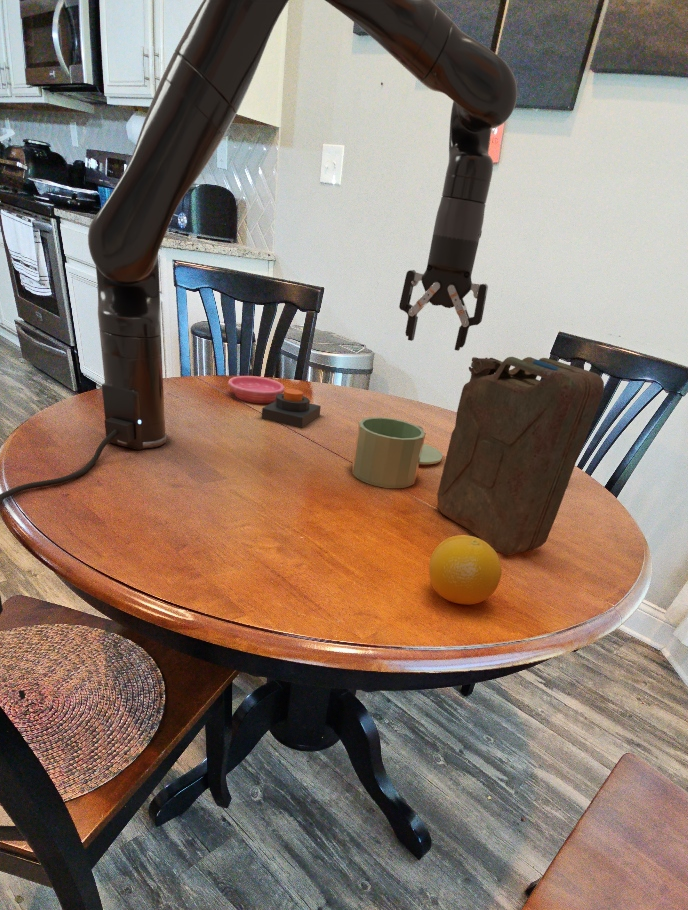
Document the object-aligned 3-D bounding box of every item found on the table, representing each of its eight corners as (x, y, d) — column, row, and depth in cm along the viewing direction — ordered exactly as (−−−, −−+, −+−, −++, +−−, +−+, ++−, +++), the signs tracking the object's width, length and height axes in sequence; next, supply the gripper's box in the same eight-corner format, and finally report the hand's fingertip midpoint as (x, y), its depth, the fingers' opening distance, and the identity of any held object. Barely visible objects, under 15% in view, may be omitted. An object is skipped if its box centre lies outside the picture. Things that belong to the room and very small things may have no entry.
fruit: (477, 581, 78) (494, 527, 74) (500, 616, 72) (520, 559, 67) (415, 579, 77) (428, 523, 72) (432, 614, 70) (448, 556, 66)
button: (298, 404, 121) (298, 395, 120) (280, 399, 122) (280, 391, 121) (305, 400, 125) (305, 391, 124) (287, 396, 125) (288, 387, 124)
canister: (547, 553, 88) (615, 378, 74) (508, 562, 84) (571, 378, 69) (465, 502, 100) (510, 342, 86) (428, 507, 96) (467, 340, 82)
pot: (406, 493, 100) (417, 444, 95) (343, 477, 102) (350, 428, 97) (420, 473, 109) (430, 427, 104) (362, 458, 111) (369, 412, 106)
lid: (435, 472, 110) (442, 443, 107) (373, 457, 112) (378, 428, 109) (446, 454, 120) (452, 426, 116) (389, 440, 122) (394, 413, 118)
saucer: (286, 408, 130) (287, 393, 129) (229, 403, 128) (229, 388, 126) (280, 392, 140) (281, 378, 138) (227, 387, 137) (227, 373, 135)
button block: (301, 428, 120) (303, 408, 118) (261, 418, 122) (262, 398, 120) (319, 416, 129) (321, 397, 127) (282, 407, 131) (283, 388, 128)
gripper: (408, 227, 93) (390, 339, 102) (497, 242, 90) (470, 356, 100) (418, 228, 99) (400, 334, 108) (502, 242, 96) (475, 350, 106)
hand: (433, 344), depth 104 cm, fingers open, 8 cm apart
